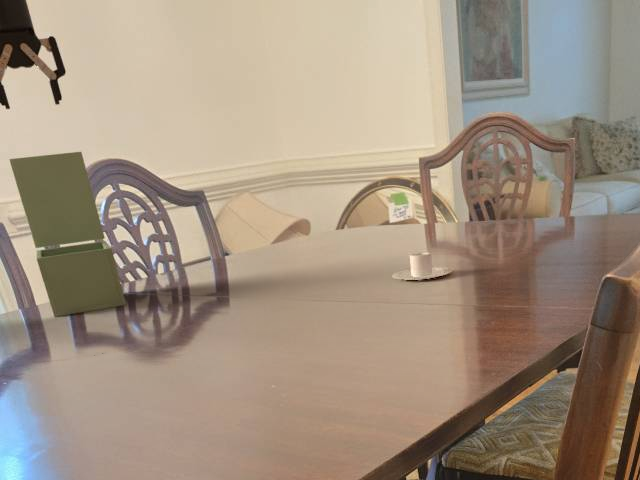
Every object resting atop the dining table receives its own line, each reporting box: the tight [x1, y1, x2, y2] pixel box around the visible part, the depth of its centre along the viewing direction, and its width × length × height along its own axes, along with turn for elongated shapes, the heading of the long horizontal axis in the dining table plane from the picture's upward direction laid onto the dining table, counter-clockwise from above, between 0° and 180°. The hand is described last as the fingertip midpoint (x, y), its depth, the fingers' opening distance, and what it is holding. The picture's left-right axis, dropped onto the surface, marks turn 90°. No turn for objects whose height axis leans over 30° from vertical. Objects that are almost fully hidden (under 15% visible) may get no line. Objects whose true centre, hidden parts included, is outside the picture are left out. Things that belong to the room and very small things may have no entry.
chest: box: [36, 240, 127, 318], centre depth 157 cm, size 16×14×11 cm
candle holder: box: [391, 251, 453, 282], centre depth 151 cm, size 12×12×4 cm
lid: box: [8, 151, 105, 249], centre depth 158 cm, size 17×14×1 cm
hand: (33, 106), depth 141 cm, fingers open, 8 cm apart
